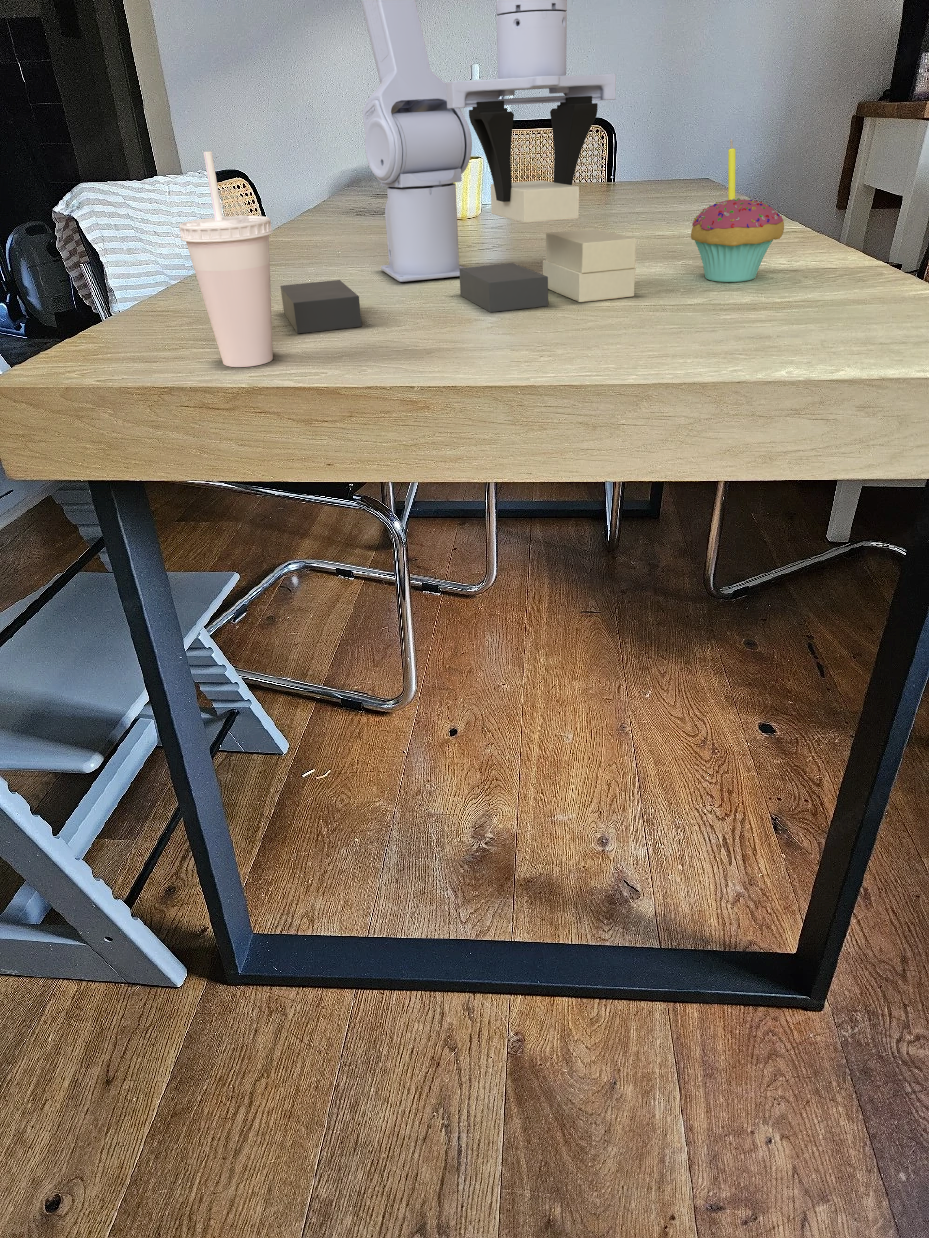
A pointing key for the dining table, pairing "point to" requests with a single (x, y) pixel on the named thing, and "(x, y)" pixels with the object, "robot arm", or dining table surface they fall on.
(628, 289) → the cream stack
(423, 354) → the dining table surface
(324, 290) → the grey book
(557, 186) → the cream book
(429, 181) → the robot arm
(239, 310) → the smoothie
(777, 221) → the cupcake
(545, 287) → the grey book
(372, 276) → the dining table surface
